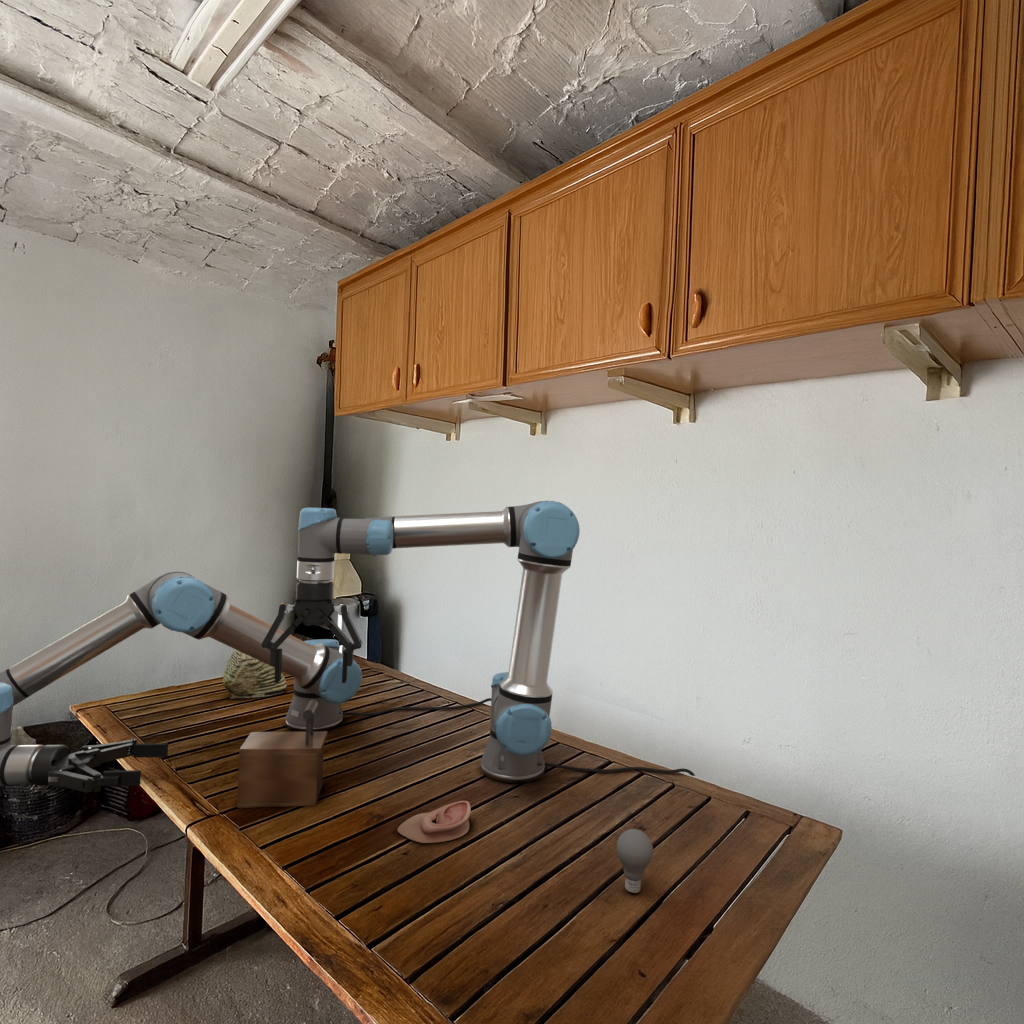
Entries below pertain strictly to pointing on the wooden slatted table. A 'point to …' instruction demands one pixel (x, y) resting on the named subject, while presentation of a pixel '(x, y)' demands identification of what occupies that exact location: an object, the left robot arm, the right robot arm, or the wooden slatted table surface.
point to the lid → (287, 739)
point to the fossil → (250, 677)
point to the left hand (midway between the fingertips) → (154, 763)
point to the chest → (279, 780)
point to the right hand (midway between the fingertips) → (311, 681)
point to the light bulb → (634, 857)
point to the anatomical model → (438, 824)
